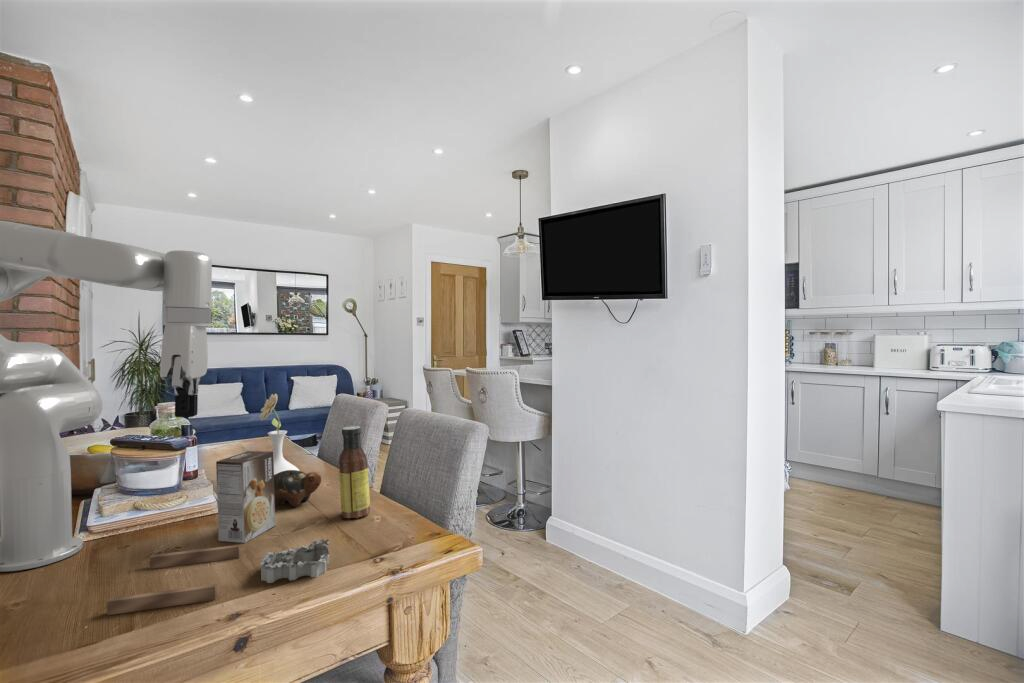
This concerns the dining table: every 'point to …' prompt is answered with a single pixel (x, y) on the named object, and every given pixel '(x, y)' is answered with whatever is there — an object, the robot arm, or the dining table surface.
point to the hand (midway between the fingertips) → (186, 416)
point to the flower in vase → (276, 437)
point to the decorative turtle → (294, 486)
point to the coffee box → (245, 496)
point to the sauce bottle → (353, 475)
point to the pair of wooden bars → (176, 595)
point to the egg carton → (285, 562)
